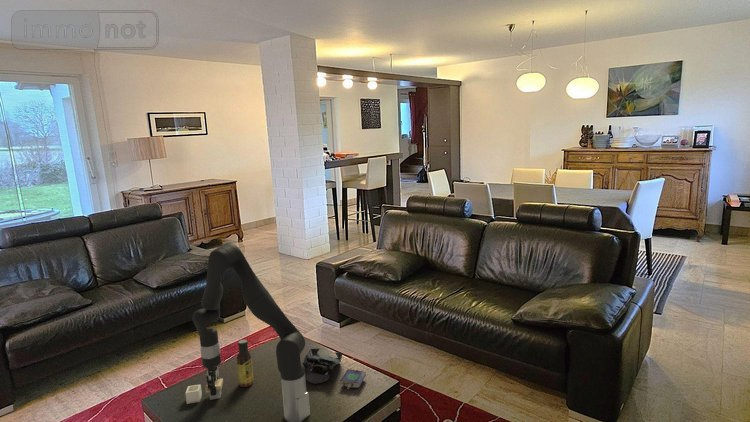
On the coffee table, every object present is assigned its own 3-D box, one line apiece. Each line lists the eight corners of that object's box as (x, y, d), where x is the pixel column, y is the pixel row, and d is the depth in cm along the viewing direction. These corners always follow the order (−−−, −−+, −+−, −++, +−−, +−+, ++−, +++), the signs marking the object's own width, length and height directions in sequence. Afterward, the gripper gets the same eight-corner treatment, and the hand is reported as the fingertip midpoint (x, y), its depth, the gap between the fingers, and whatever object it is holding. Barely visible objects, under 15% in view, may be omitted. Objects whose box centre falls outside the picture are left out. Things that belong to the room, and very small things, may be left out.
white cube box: (201, 395, 180) (200, 384, 180) (199, 402, 176) (198, 390, 175) (189, 397, 179) (188, 386, 179) (186, 404, 175) (185, 392, 174)
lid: (223, 382, 182) (222, 377, 182) (221, 390, 176) (220, 384, 176) (208, 384, 181) (207, 379, 180) (205, 392, 175) (205, 386, 175)
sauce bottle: (249, 388, 184) (245, 345, 181) (236, 387, 185) (231, 344, 182) (256, 380, 190) (252, 338, 187) (243, 379, 191) (239, 338, 188)
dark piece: (346, 364, 201) (345, 346, 200) (331, 387, 182) (330, 367, 181) (311, 360, 206) (310, 343, 204) (293, 383, 187) (291, 364, 185)
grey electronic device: (366, 371, 187) (358, 385, 177) (366, 377, 187) (358, 392, 177) (346, 368, 189) (337, 382, 179) (346, 374, 190) (338, 388, 180)
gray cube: (221, 392, 181) (220, 384, 181) (219, 398, 178) (218, 389, 177) (211, 394, 181) (210, 385, 180) (209, 399, 177) (208, 390, 176)
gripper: (204, 346, 182) (208, 383, 185) (197, 363, 169) (202, 402, 171) (222, 344, 184) (226, 380, 186) (217, 360, 170) (221, 399, 172)
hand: (215, 390), depth 179 cm, fingers closed on lid, 6 cm apart
